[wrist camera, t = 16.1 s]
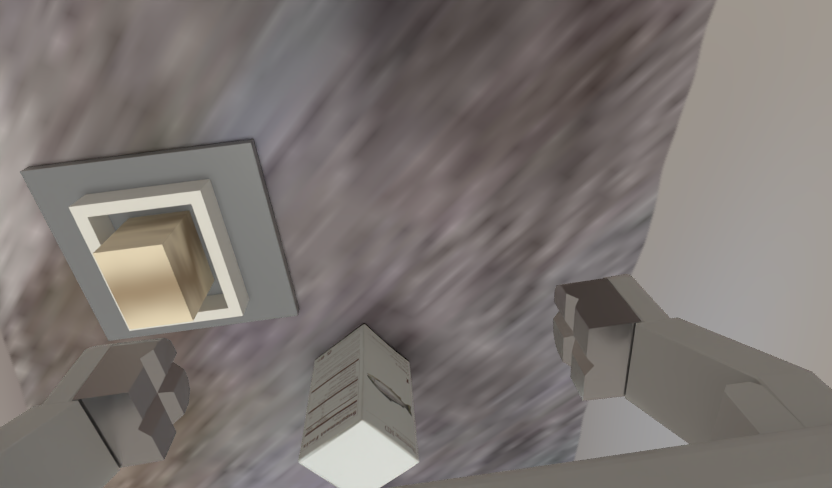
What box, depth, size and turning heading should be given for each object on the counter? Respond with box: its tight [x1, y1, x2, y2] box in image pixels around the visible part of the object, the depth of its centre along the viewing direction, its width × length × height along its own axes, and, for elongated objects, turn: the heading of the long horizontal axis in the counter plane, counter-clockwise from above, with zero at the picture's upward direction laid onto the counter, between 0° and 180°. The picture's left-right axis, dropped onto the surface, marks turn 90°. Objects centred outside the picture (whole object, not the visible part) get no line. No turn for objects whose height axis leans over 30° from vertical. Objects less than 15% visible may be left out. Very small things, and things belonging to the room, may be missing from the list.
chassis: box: [20, 139, 299, 341], centre depth 41 cm, size 17×18×4 cm
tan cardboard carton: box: [93, 210, 214, 329], centre depth 39 cm, size 7×5×6 cm
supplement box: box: [298, 324, 419, 488], centre depth 45 cm, size 7×7×13 cm
